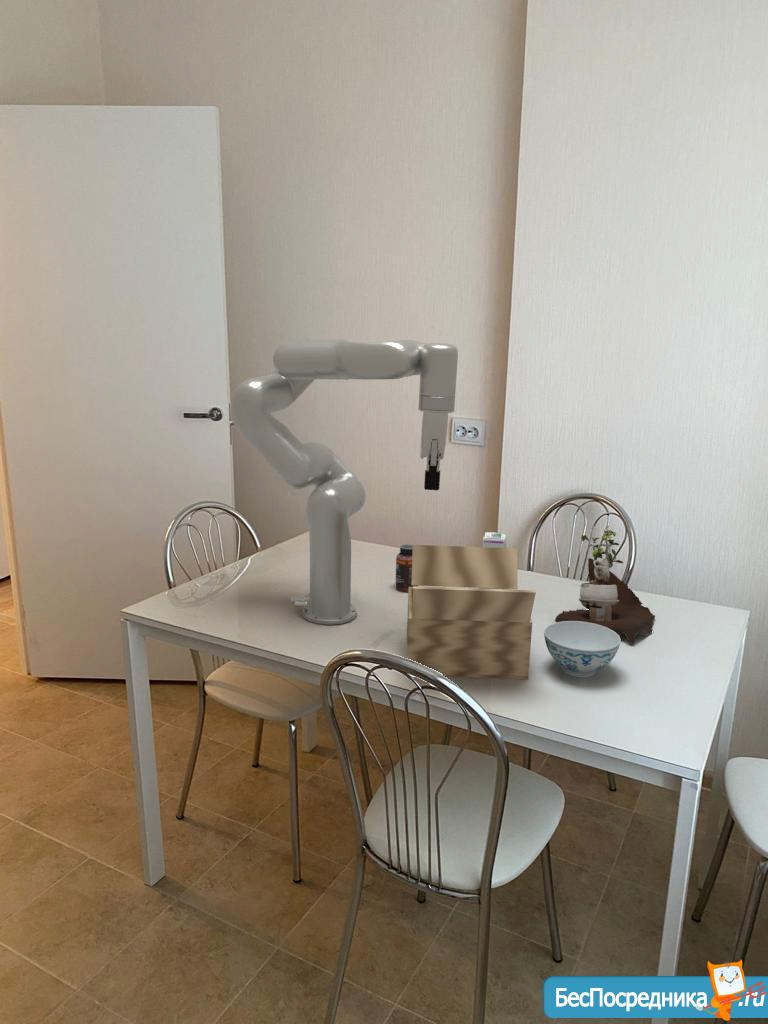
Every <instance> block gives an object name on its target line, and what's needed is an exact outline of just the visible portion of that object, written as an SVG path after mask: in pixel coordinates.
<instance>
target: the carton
mask: <svg viewBox="0 0 768 1024" xmlns="http://www.w3.org/2000/svg"><path fill="white" fill-rule="evenodd" d="M407 594H408V597H407V623H406V624H407V625H406V659H407V658H408V659H411V660H413V661H416V662H418V663H421V664H422V665H425V666H427V667H429V668H432V669H434V670H436V671H438V672H440V673H442V674H443V675H445V676H444V677H457V678H459V677H461V678H462V677H463V678H483V679H484V678H485V679H486V678H487V679H515V680H529V673H530V671H529V670H530V659H531V657H530V655H531V646H532V644H531V643H532V633H533V631H532V630H533V621H532V618H531V619H530V623H525V622H496V621H468V620H440V619H412V604H413V587H409V590H408V592H407Z"/></svg>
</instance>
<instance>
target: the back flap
mask: <svg viewBox="0 0 768 1024" xmlns="http://www.w3.org/2000/svg"><path fill="white" fill-rule="evenodd" d="M412 545H413V548H412V582H411V585H414V586H418V587H445V588H474V589H481V588H502V589H503V590H518V569H519V568H518V561H519V560H518V555H519V554H518V553H519V552H518V548H515V547H506V548H491V547H482V546H458V545H457V546H456V545H455V546H454V545H424V544H412Z"/></svg>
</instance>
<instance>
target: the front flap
mask: <svg viewBox="0 0 768 1024" xmlns="http://www.w3.org/2000/svg"><path fill="white" fill-rule="evenodd" d="M536 592H537V591H536V590H533V589H532V590H529V589H481V588H473V587H443V586H418V587H416V586H413V604H412V619H440V620H468V621H496V622H525V623H530V619H531V620H532V618H531V617H532V614H533V609H534V604H535V599H536V594H537V593H536Z"/></svg>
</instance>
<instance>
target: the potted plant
mask: <svg viewBox="0 0 768 1024" xmlns="http://www.w3.org/2000/svg"><path fill="white" fill-rule="evenodd" d="M603 532H604V534H603V535H602V537H601V541H605V544H604V543H603V542H601V543H600V544H599V543H598V544H596V543H597V542H596V541H597V540H599V539H600V537H595V538H592V541H591V540H590V538H588V536H587V535H586V534H584V535H581V541H582V542H584V541H585V540H587V542H588V543H590V544H589V545H588V547H589V548H590V547H592V550H593V551H592V553H591V554H592V555H591V556H592V557H593V558H594V559H593V558H588V561H587V562H588V564H587V567H588V569H587V570H588V581H589V582H583V583H581V584H580V589H579V590H580V591H579V597H580V598H578V601H579V602H580V603H581V605H582V606H583V607H584V608H585V609H583V608H581V609H580V608H579V609H576V610H572V609H570V610H568V611H566V610H563V611H562V612H561V613H559V614H557V615H556V617H555V620H554V623H557V622H562V621H581V622H589V623H594V624H598V625H601V626H604V627H607V628H609V629H611V630H613V631H614V632H616V633H617V634H618V635H619V636H621V635H622V634H624V635H625V638H626V639H627V640H628V642H629V643H631V644H634V643H635V638H636V637H637V635H638V634H640V635H642V636H649V635H651V634H653V633H652V631H653V629H652V626H653V625H654V623H655V621H654V620H655V618H656V615H655V614H653V612H651V610H650V608H649V607H647V606H644V605H643V603H642V601H641V600H640V598H639V597H638V596H637V595H636V594H635V592H634V591H633V590H632V589H631V588H629V586H628V585H627V584H626V583H625V582H624V581H623V580H621V579H620V578H619V577H618V576H617V575H615V574H614V573H613V572H612V571H610V568H612V567H614V564H613V563H619V564H624V561H622V560H620V559H617V557H616V554H617V551H616V550H615V549H614V548H612V549H611V546H620V543H618V542H615V539H612V538H613V537H616V534H617V532H616V531H613V530H612V529H610V530H609V529H608V528H607V529H604V530H603ZM612 535H613V537H612ZM603 547H605V549H604V548H603ZM604 554H605V558H603V555H604ZM613 556H614V557H613ZM598 558H599V559H602V561H601V560H598ZM613 558H614V559H613ZM586 609H589V610H586Z"/></svg>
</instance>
